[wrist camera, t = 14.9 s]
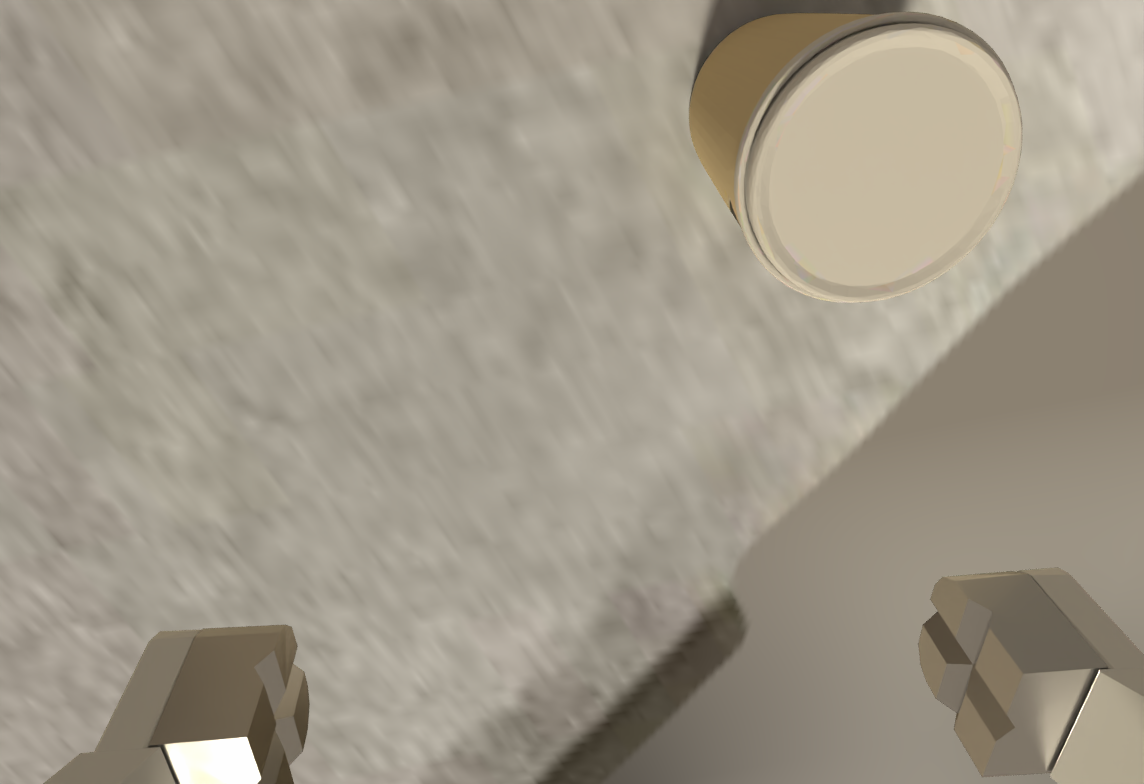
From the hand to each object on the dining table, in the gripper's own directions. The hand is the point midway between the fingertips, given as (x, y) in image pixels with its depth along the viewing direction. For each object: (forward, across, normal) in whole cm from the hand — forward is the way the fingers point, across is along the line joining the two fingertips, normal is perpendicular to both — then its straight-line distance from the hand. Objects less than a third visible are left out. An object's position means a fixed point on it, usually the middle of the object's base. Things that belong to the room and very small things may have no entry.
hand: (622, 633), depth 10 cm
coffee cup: (+29, -11, -1) cm, 31 cm away
